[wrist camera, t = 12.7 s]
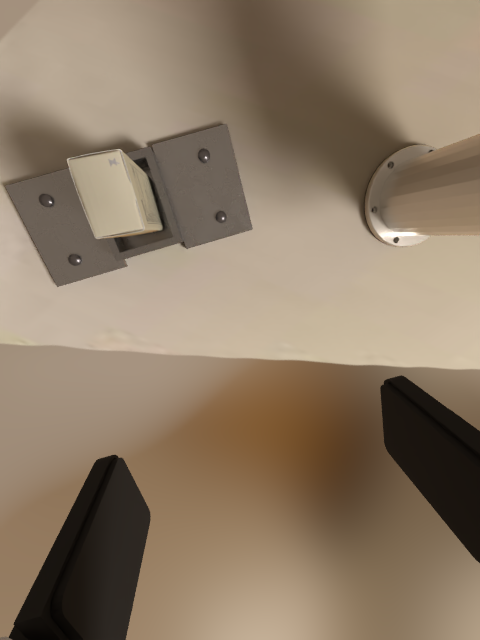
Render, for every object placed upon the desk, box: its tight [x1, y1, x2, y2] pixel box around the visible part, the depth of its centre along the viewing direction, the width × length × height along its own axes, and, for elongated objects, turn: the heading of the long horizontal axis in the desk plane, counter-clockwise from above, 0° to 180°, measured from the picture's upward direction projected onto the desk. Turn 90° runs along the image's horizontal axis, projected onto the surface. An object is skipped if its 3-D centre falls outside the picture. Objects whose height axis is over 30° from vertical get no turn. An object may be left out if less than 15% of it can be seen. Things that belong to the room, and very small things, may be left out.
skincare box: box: [67, 149, 164, 239], centre depth 27 cm, size 6×4×12 cm
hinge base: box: [5, 124, 253, 287], centre depth 31 cm, size 26×12×4 cm, turn 105°
